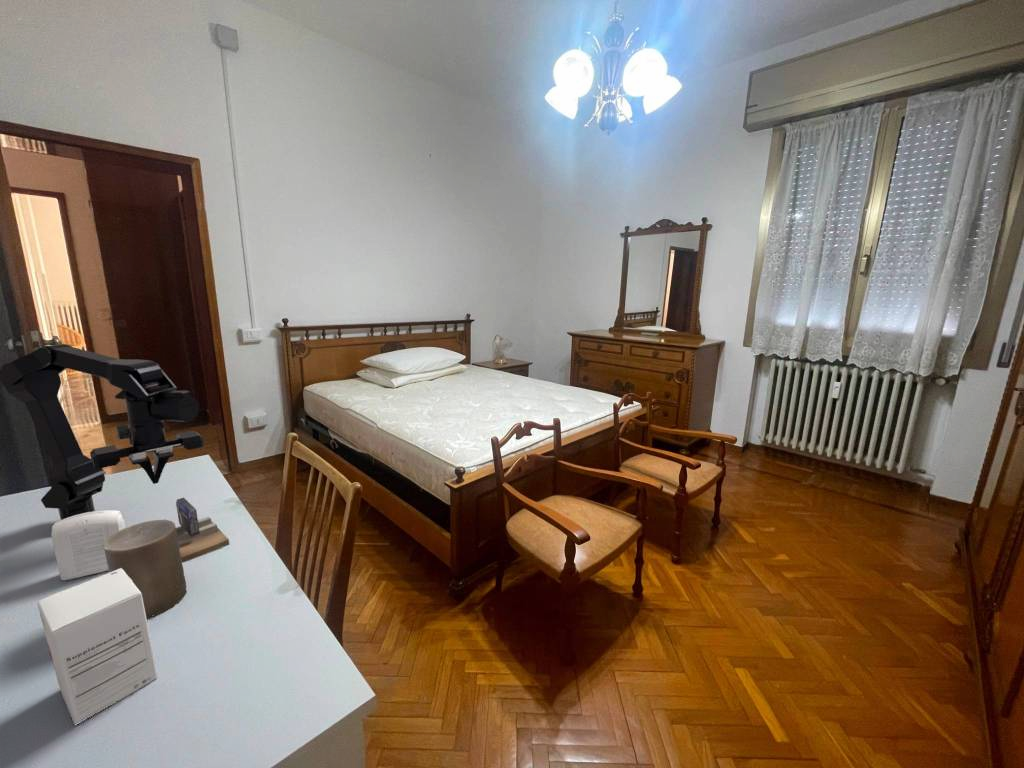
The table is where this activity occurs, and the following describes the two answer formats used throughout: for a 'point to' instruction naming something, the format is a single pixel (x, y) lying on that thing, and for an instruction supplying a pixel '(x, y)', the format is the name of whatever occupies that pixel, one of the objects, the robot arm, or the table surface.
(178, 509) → the mini dv tape
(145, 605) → the pillar candle
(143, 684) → the supplement box
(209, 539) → the rail panel
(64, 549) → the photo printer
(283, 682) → the table surface
